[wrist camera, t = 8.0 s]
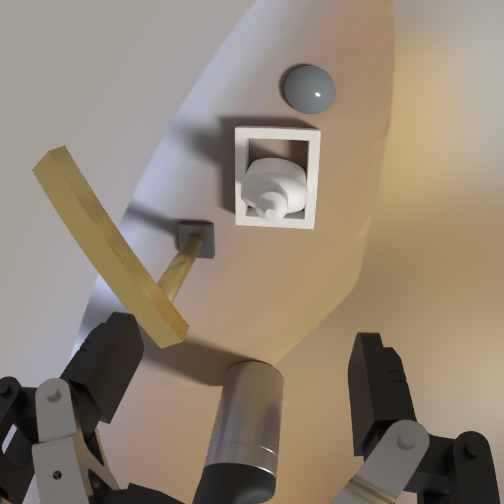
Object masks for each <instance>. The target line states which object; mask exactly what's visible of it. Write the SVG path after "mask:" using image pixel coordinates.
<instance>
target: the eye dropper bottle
mask: <svg viewBox="0 0 504 504" xmlns="http://www.w3.org/2000/svg"><path fill="white" fill-rule="evenodd" d="M307 193H308V188H307V181H306V175H305V170H304V169H303V168H302V167H301V166H299V165H297V164H295V163H293V162H291V161H288V160H285V159H280V158H263V159H258V160H255V161H253V162H252V163H251V165H250V167H249V169H248V170H247V172H246V174H245V176H244V178H243V180H242V185H241V199H242V200H243V201H244V202H245V203H246V204H248V205H249V206H251V207H253V208H255V210H256V213H257V214H258V215H259V217H260V218H262V219H263V220H266V221H269V222H270V221H271V222H275V221H278V220H280V219H282V218H283V217H284V216H285V215H286V214H288V213H293V212H297V211H300V210H302V209H303V208H304V206H305V204H306V199H307Z"/></svg>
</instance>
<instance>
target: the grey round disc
mask: <svg viewBox="0 0 504 504" xmlns="http://www.w3.org/2000/svg"><path fill="white" fill-rule="evenodd" d="M284 92H285V96H286V98H287V100H288V102H289V103H290V105H291V106H292V107H293V108H295V109H296V110H298V111H300V112H302V113H306V114H316V113H320V112H322V111H324V110H326V109H327V108H328V107H329V106H330V105H331V104H332V102H333V100H334V98H335V85H334V82H333V80H332V78H331V77H330V75H329V74H328V73H327V72H326V71H324V70H323V69H321V68H318V67H315V66H302V67H299V68H297V69H295V70H294V71H292V72H291V73H290V74H289V76H288V77H287V79H286V82H285V86H284Z"/></svg>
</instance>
